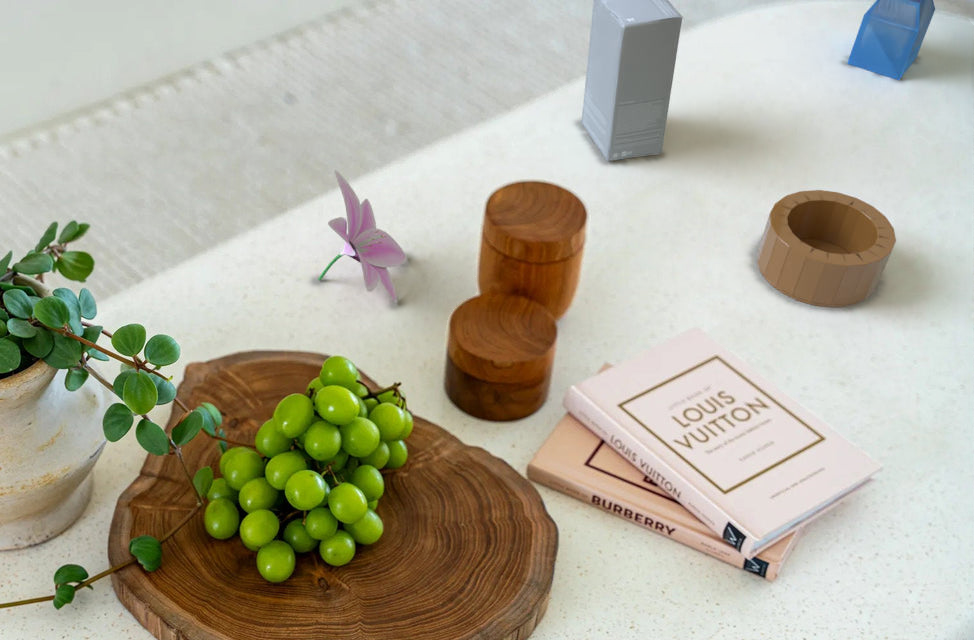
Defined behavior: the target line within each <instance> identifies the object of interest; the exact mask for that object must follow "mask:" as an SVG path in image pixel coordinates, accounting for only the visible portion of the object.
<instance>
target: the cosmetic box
mask: <svg viewBox="0 0 974 640" xmlns="http://www.w3.org/2000/svg"><path fill="white" fill-rule="evenodd" d="M682 22H683V16H682V15H681V13H680V12H679V11H678V10H677V9H676V8H675V7H674V5H673V4H672V3H671V2H670V0H593V3H592V13H591V22H590V23H591V24H590V32H589V33H590V34H589V42H588V43H589V44H588V54H587V63H586V64H587V65H586V72H585V73H586V74H585V82H584V83H585V84H584V92H583V93H584V94H583V105H582V112H581V122H580V123H581V125H582V126H583V127H584V128H585V130H586V131H587V133H588V135H589V136H590V137H591V139H592V140H593V142H594V143H595V145H596V146H597V148H598V150H600V153H602V155H603V157H604V158H605V160H607V161H609V162H610V161H618V160H624V159H629V158H635V157H645V156H653V155H661V153H662V151H663V146H664V139H665V135H666V134H665V133H666V126H667V119H668V115H669V114H668V113H669V107H670V100H671V94H672V88H673V81H674V74H675V68H676V61H677V56H678V55H677V54H678V48H679V42H680V35H681V28H682V24H683V23H682Z"/></svg>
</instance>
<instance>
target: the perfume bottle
mask: <svg viewBox="0 0 974 640" xmlns="http://www.w3.org/2000/svg"><path fill="white" fill-rule="evenodd" d="M935 11H936V6H935V2H934V0H875V1H874V3H873V4H872V5H871V6H870V7H869V8H868V10H867V11H866V12H865V13H864V14H863V16H862V19H861V22H860V26H859V28H858V31H857V34H856V38H855V40H854V42H853V45H852V49H851V50H850V53H849V57H848V59H847V63H846V64H847V65H850V66H853V67H856V68H858V69H859V68H860V69H862V70H866V71H869V72H872V73H876V74H878V75H881V76H884V77H887V78H890V79H893V80H897V81H900V80H901V78H903V76H904V75H905V73H906V72H907V71H908V69H909V68H910V67H911V66H912V65H913V63H914V62H915V60H916V59H917V58H918V55H919V52H920V50H921V47H922V44H923V42H924V40H925V37H926V35H927V32H928V30H929V27H930V24H931V22H932V19H933V16H934V14H935Z"/></svg>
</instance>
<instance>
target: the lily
mask: <svg viewBox="0 0 974 640" xmlns="http://www.w3.org/2000/svg"><path fill="white" fill-rule="evenodd" d="M334 174H335V178H336V179H337V180H336V181H337V183H338V186H339V188H340V191H341V194H342V195H341V196H342V198H343V201H344V202H343V203H344V206H345V212H346V218H345V217H342V216H340V217H335V218H333V219H331V220H329V221H328V224H327V225H328V226H329V227H330V228H331V229H332V230H333V231H334V232H335V233H336V235H338V236H339V237H340V238H341V239H342V240H343V241H344V245H343V249H342V250H341V252H339V254H338V255H336V256H335V257H334V258H333V259H332V260H331V261H330V262H329V263H328V264H327V266H326V267H325V268H324V269H323V271H322V273H321V274H320V276H319V277H318V278H317V280H318V281H322V279H324V278H325V277H324V276H325V275H326V274H327V273H328V271H329V270H330V268H332V266H333V265H334V264H335V263H336V262H337V261H338V260H339V259H341V258H342V257H343V256H348V257H349V258H351V259H353V260H354V261H356V262H358V263H360V266H361V271H362V275H363V281H364V286H365V288H366V292H368V293H371V292H373V291H374V290H376V288H377V286H378V285H379V283H381V284H382V286H383V287H384V289H385V290H386V292H387V293H388V294H389V295H390V297H391V299H392V300H393V302H394V303H395V304H398V298H397V293H396V290H395V286H394V283H393V280H392V276H391V274H390V272H389V269H391V268H395V267H399V266H401V265H403V264H405V263H407V261H408V257H407V255H406V253H405V251H404V250H403V248H402V247H401V245H400V244H398V242H397V241H396V240H395V239H394V237H392V236H391V234H389V233H388V232H386V231H384V230H383V229H381V228H377V222H376V217H375V214H374V211H373V207H372V204H371V202H370V201H369V198H364V200H362V202H360V198H359V197H358V195H357V193H356V192H355V191H354V189H353V187H352V186H351V184H350V183H349V182H348V181H347V180H346V179H345V178H344V176H343V175H342V174H341V173H340V172H339V171H338V170H336V169H334ZM388 268H389V269H388Z"/></svg>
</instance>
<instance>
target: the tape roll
mask: <svg viewBox="0 0 974 640" xmlns="http://www.w3.org/2000/svg"><path fill="white" fill-rule="evenodd" d="M764 227H765V228H764V229H763V234H762V237H761V240H760V242H759V246H758V249H757V251H756V252H757V253H756V264H757V268H758V270H759V272H760V274H761V276H762V277H763V278H764V279H765V281H767V283H768V284H769V285H770V286H772V287H773V288H774V289H775V290H776V291H778V292H780V293H782V294H783V295H785V296H787V297H789V298H790V299H793V300H796V301H799V302H802V303H804V304H808V305H812V306H817V307H823V308H824V307H826V308H840V307H847V306H848V307H849V306H852V305H853V306H854V305H856V304H858V303H859V304H860V303H861V302H864V301H865V300H867V299H869V297H871V295H873V293H874V292H875V290H876V289H877V287H878V285H879V282H880V280H881V278H882V275H883V273H884V271H885V269H886V266H887V264H888V262H889V259H890V257H891V255H892V252H893V250H894V247H895V245H896V242H897V238H896V232H895V229H894V227H893V225H892V224H891V222H890V220H889V219H888V217H886V215H885V214H883V213H882V212H881V211H879V210H878V209H877V208H876V207H875V206H873V205H871V204H869V203H868V202H866V201H863V200H862V199H859V198H857V197H856V196H852V195H848V194H845V193H841V192H838V191H831V190H822V189H813V190H800V191H796V192H794V193H790V194H787V195H785V196H783V197H782V198H781V199H779V200H778V201H777V202H774V204H773V207H772V208H771V210H770V212H769V215H768V217H767V221H766V224H765V226H764Z"/></svg>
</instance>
